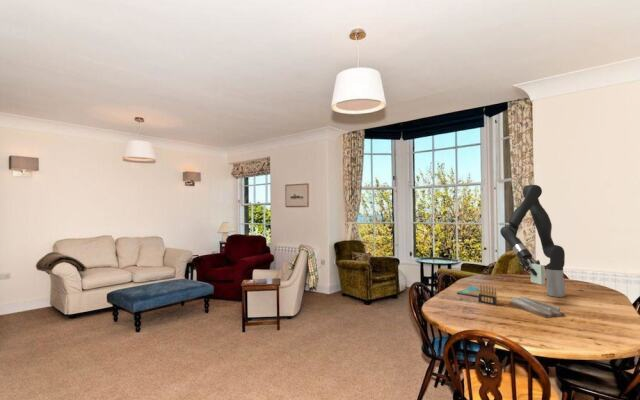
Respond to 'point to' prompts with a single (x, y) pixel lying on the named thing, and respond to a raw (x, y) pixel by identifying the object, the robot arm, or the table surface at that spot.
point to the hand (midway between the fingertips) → (538, 274)
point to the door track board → (536, 307)
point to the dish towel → (470, 292)
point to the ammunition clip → (487, 294)
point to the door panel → (538, 274)
